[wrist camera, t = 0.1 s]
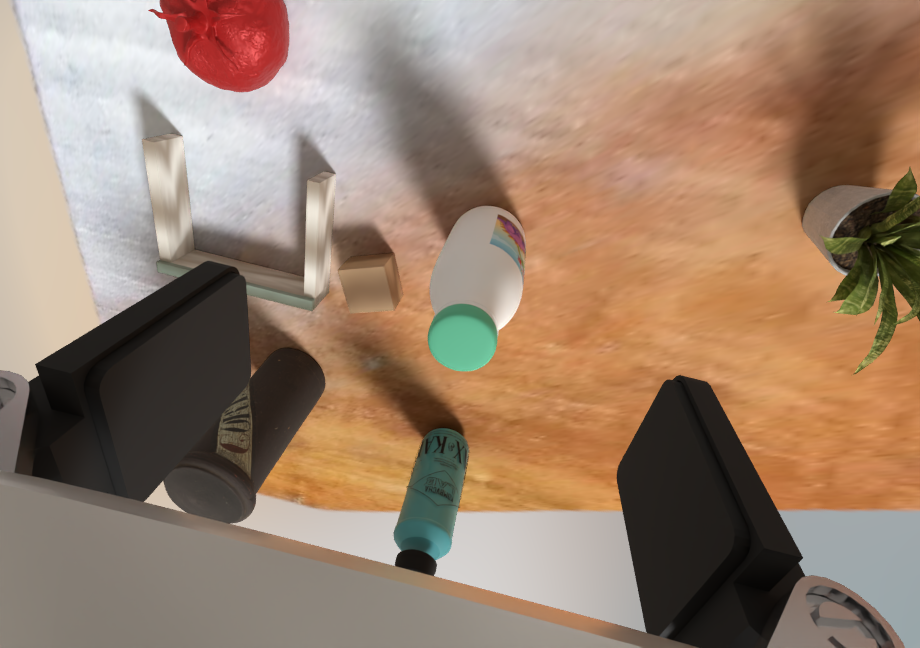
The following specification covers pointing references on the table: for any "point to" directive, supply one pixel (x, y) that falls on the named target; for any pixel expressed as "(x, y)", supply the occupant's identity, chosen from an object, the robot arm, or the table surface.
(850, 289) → the house plant
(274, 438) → the container
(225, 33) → the pomegranate
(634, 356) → the table surface
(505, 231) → the milk bottle
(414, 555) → the beverage bottle
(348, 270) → the teak block
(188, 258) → the display stand
